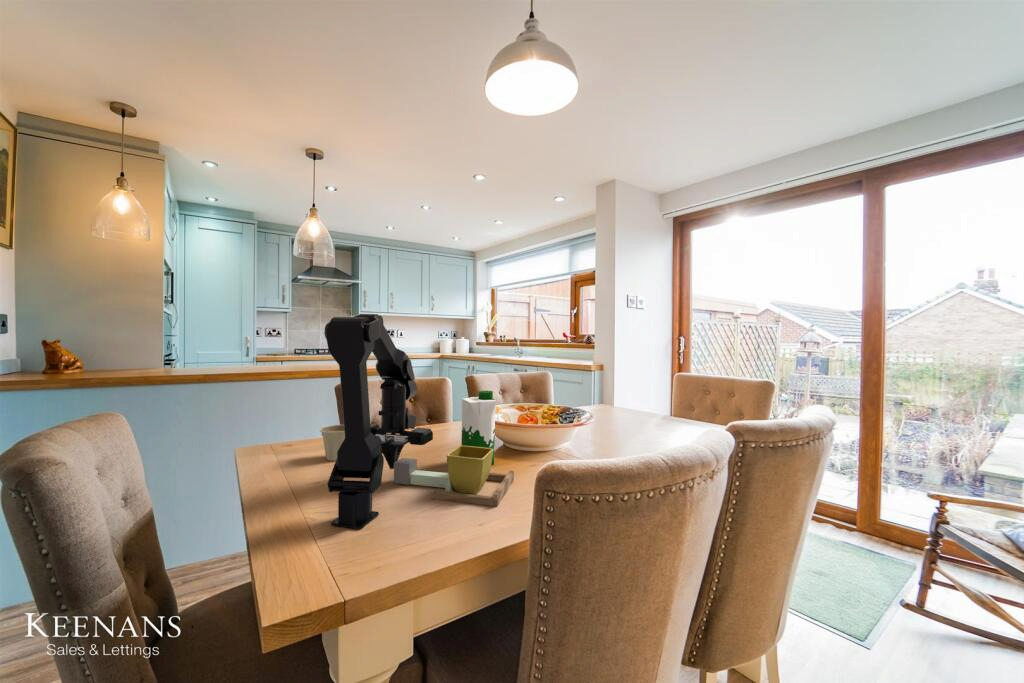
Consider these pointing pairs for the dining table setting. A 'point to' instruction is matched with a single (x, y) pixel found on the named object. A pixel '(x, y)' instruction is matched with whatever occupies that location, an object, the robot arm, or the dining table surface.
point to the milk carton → (479, 421)
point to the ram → (419, 475)
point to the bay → (480, 499)
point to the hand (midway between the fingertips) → (392, 468)
